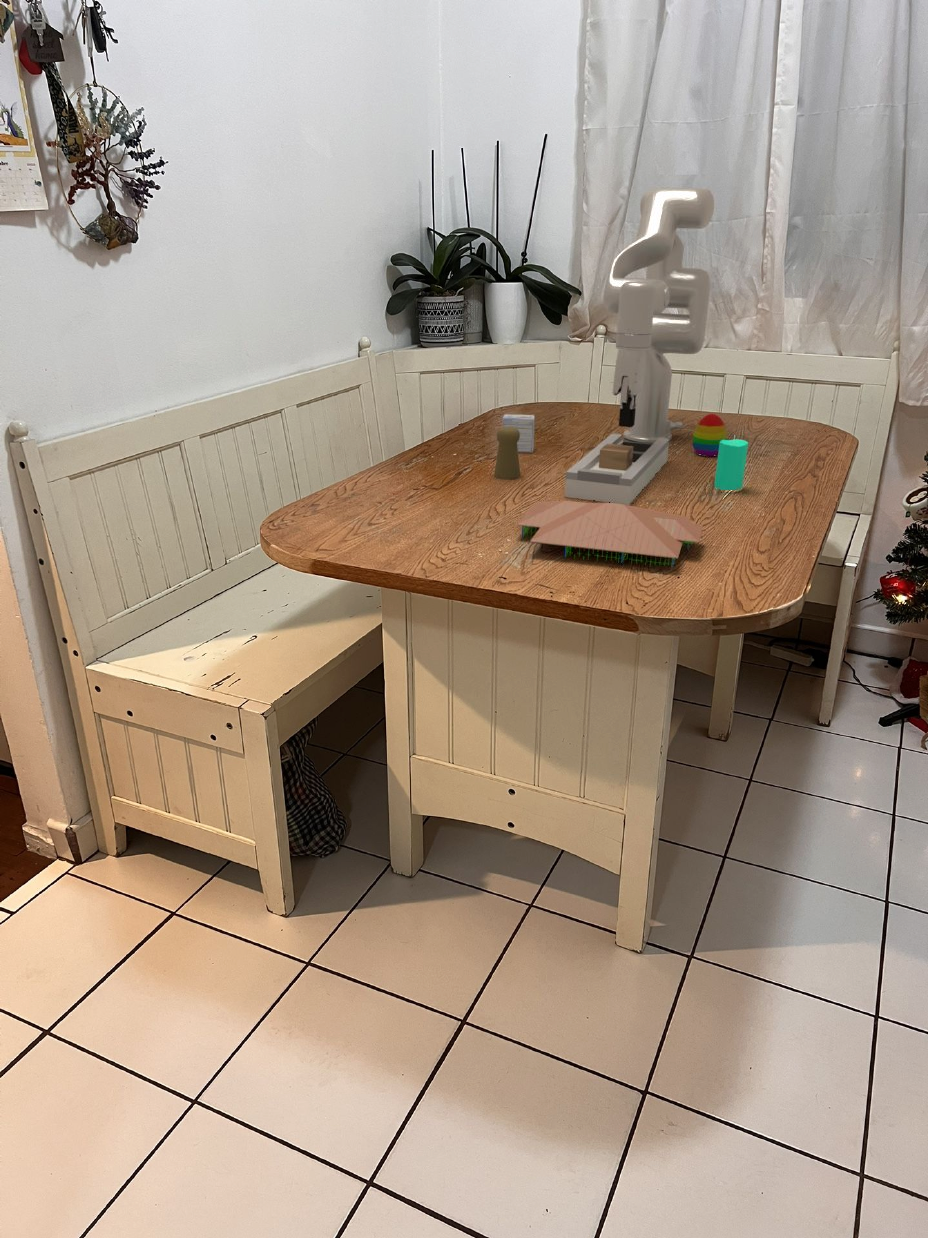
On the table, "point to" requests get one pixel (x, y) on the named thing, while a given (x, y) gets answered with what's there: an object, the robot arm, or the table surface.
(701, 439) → the decorative egg
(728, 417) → the table surface
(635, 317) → the robot arm
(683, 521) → the house
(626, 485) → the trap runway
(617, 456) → the walnut block
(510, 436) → the olive pawn
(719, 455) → the candle
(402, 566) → the table surface
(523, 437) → the medicine box
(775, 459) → the table surface
